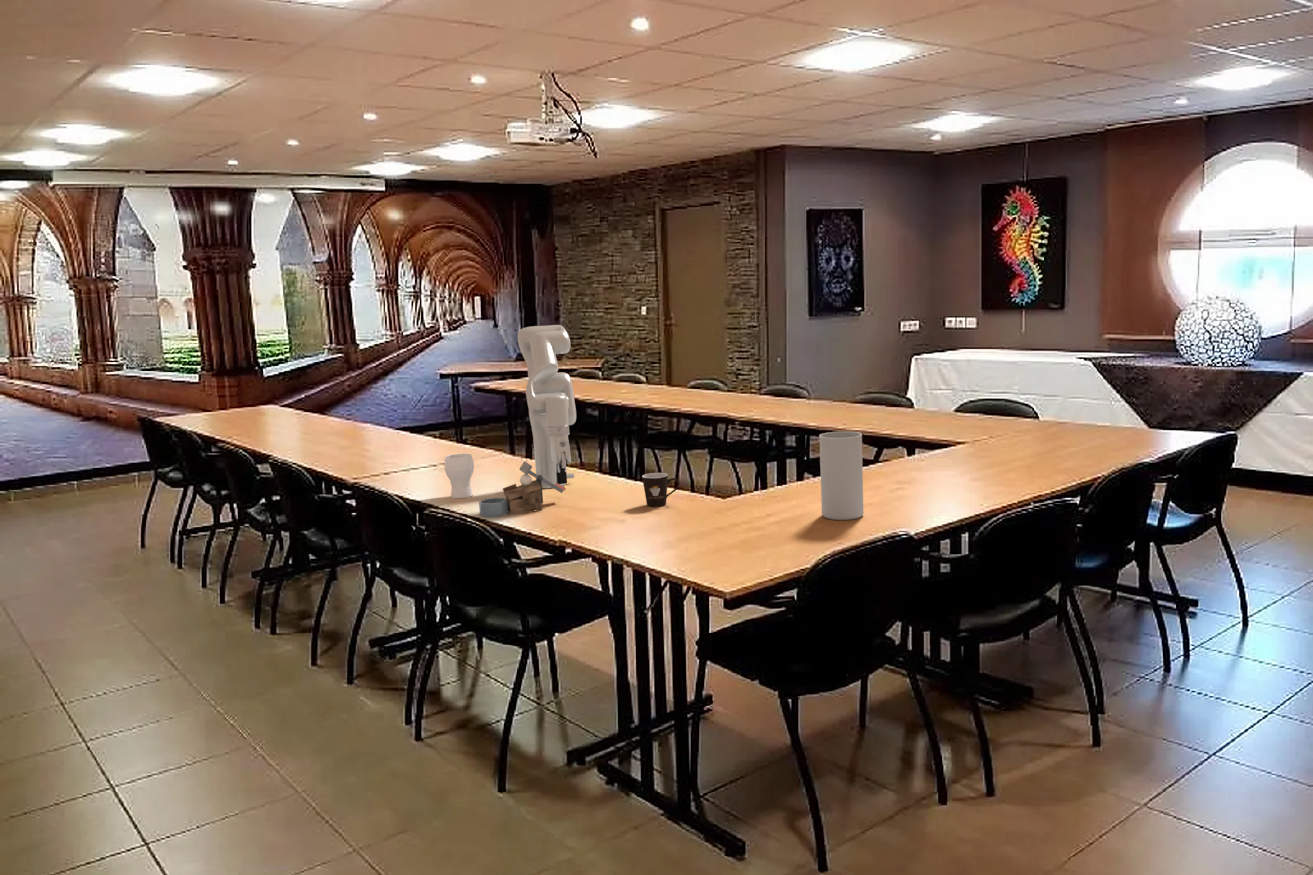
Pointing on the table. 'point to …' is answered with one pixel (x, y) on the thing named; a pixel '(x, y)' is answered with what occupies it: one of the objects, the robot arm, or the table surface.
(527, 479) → the ball
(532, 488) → the cardboard box
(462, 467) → the cup
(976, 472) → the table surface
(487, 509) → the pot
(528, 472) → the lever
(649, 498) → the coffee mug
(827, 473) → the cylinder vase
